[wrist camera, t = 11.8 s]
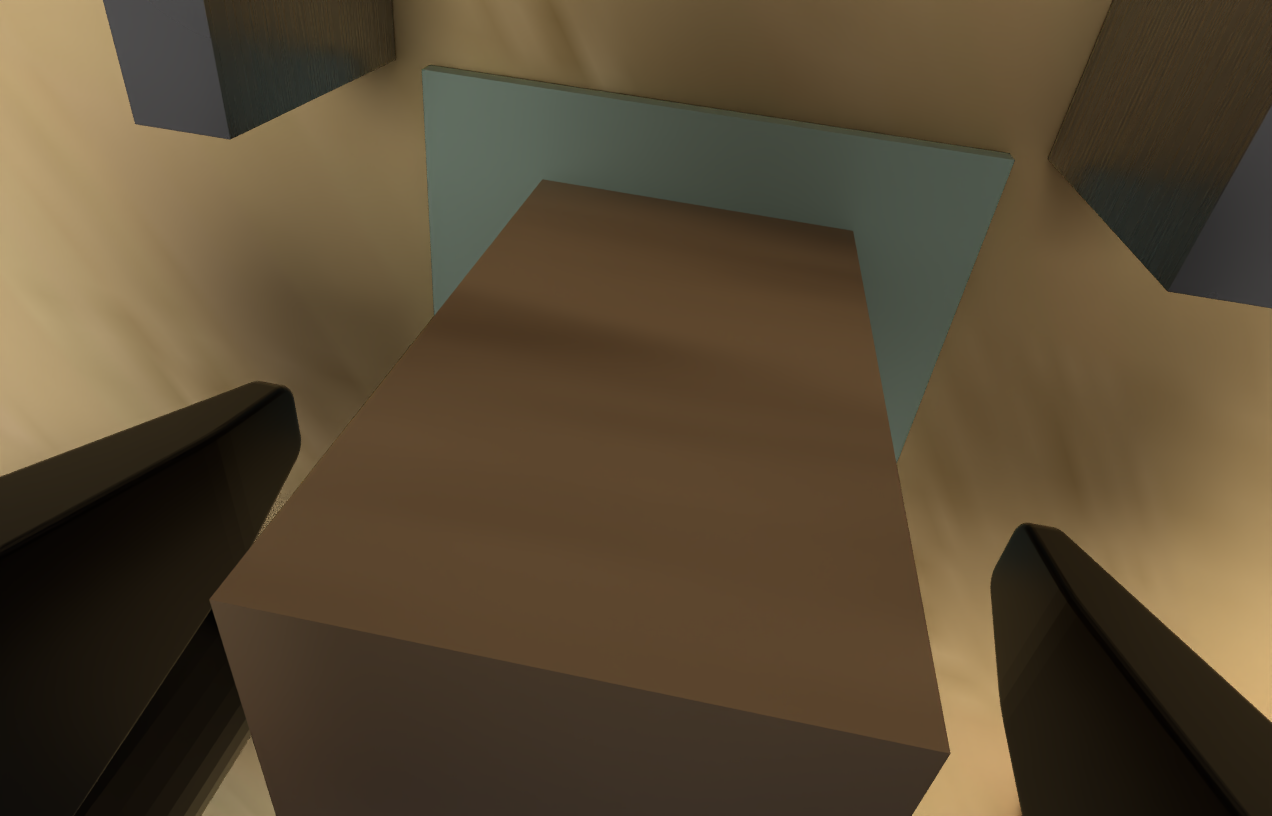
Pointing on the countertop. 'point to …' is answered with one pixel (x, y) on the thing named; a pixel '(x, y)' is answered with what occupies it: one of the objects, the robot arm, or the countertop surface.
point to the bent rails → (1083, 153)
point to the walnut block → (604, 544)
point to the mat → (721, 192)
